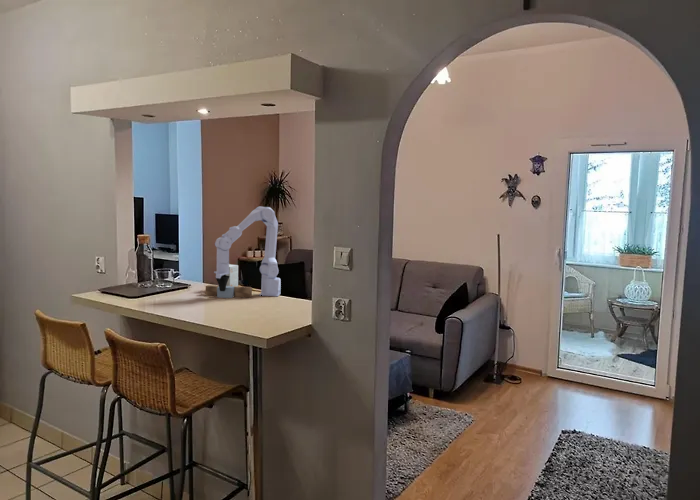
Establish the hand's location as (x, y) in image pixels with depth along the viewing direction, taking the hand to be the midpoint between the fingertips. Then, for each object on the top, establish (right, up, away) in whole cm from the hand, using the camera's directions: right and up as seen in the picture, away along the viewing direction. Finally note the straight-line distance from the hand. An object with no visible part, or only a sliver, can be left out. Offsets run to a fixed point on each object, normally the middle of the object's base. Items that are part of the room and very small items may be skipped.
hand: (222, 291), depth 255 cm
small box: (-2, -2, +21) cm, 21 cm away
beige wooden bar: (+1, -3, +7) cm, 8 cm away
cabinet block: (0, -3, +5) cm, 6 cm away
